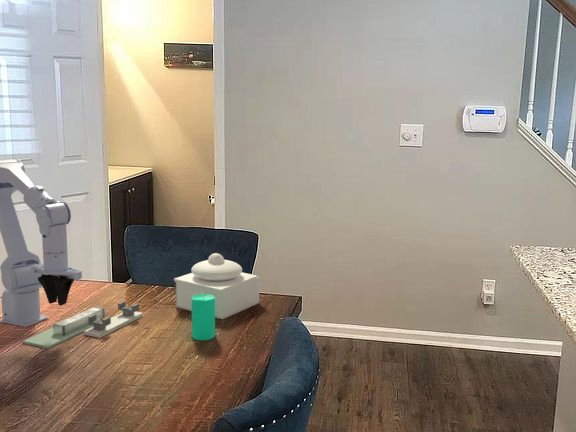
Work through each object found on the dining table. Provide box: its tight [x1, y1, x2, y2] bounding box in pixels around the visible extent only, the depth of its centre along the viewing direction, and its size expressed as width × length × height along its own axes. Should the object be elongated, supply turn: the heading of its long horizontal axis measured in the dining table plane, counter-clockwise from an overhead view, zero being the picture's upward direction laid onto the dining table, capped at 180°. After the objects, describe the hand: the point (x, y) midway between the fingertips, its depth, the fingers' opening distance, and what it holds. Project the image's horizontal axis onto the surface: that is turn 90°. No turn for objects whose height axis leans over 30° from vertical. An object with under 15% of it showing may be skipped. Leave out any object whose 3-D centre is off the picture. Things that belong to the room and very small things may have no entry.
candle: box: [191, 291, 216, 341], centre depth 162 cm, size 6×6×12 cm
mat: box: [22, 324, 93, 350], centre depth 161 cm, size 8×16×1 cm, turn 157°
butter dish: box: [173, 252, 260, 320], centre depth 186 cm, size 18×18×16 cm
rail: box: [52, 305, 106, 336], centre depth 167 cm, size 3×16×3 cm, turn 156°
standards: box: [83, 300, 144, 339], centre depth 169 cm, size 5×18×4 cm, turn 157°
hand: (57, 303), depth 160 cm, fingers open, 3 cm apart
